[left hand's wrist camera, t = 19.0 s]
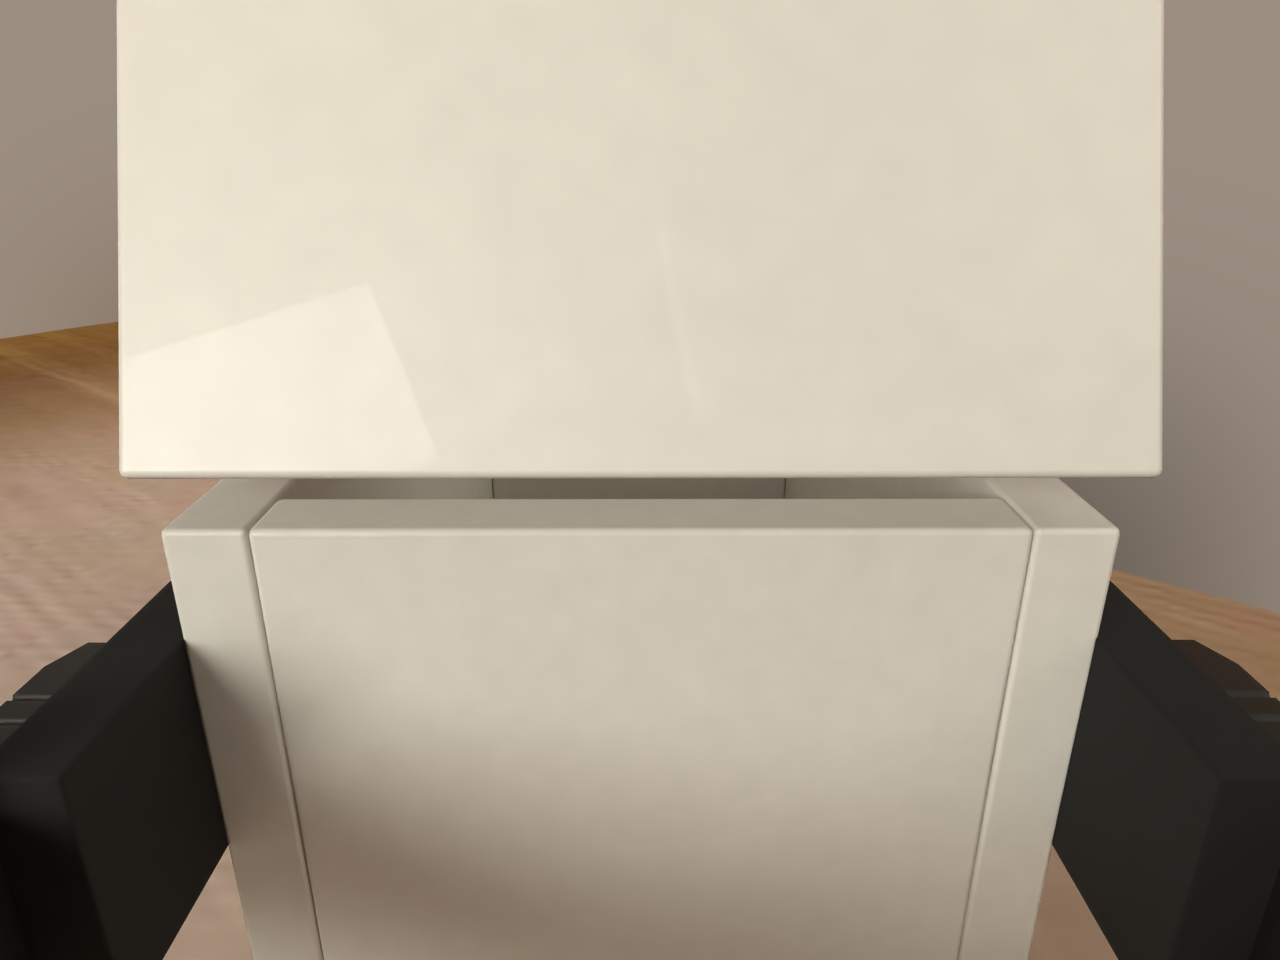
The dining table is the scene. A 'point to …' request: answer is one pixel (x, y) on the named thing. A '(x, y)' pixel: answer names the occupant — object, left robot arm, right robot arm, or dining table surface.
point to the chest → (640, 711)
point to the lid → (640, 238)
